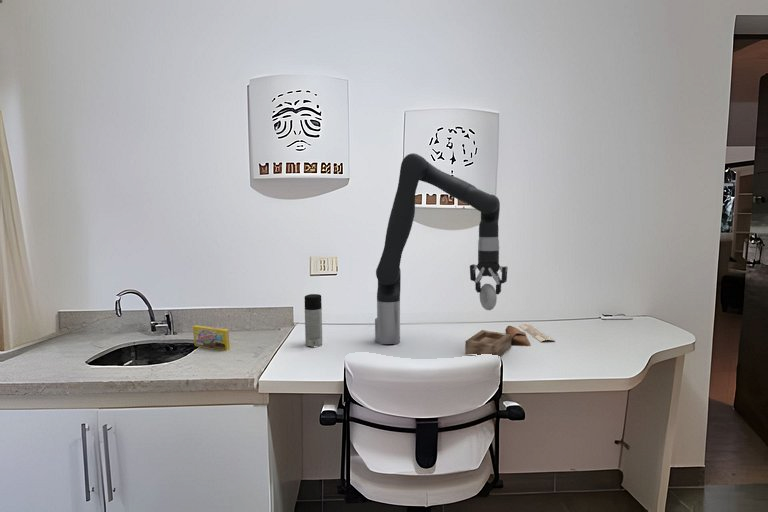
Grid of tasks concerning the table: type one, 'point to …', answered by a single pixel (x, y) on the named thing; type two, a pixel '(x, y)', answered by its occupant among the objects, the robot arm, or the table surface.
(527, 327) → the newspaper
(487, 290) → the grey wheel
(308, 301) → the spray can
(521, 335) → the sunglasses case
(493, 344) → the walnut base
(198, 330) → the candy box
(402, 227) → the robot arm
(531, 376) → the table surface
